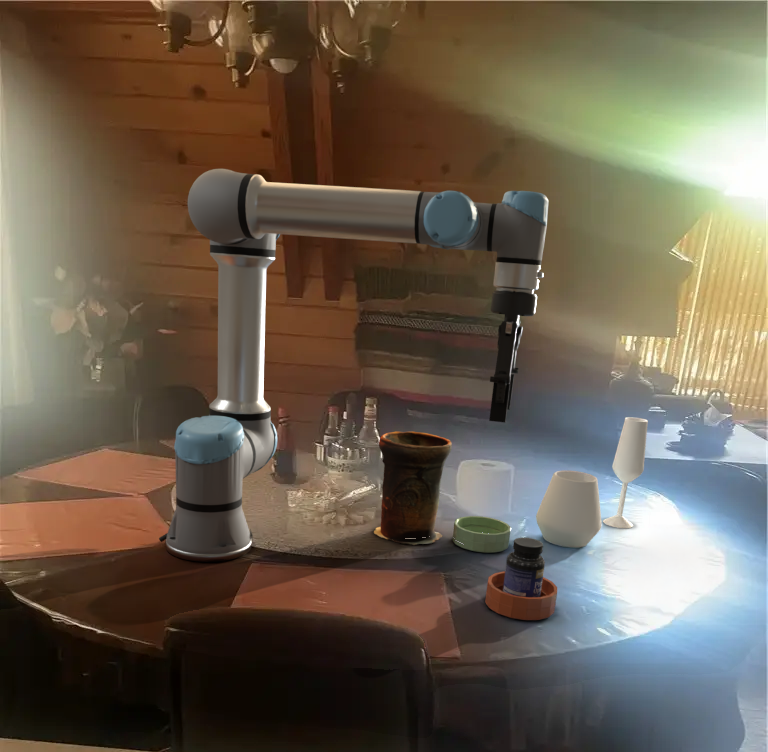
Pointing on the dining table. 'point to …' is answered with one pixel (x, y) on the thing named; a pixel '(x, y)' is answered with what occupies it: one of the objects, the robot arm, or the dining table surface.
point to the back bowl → (481, 534)
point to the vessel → (411, 485)
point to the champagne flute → (628, 462)
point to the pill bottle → (524, 568)
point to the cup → (570, 509)
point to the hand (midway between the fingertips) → (499, 415)
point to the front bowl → (520, 600)
